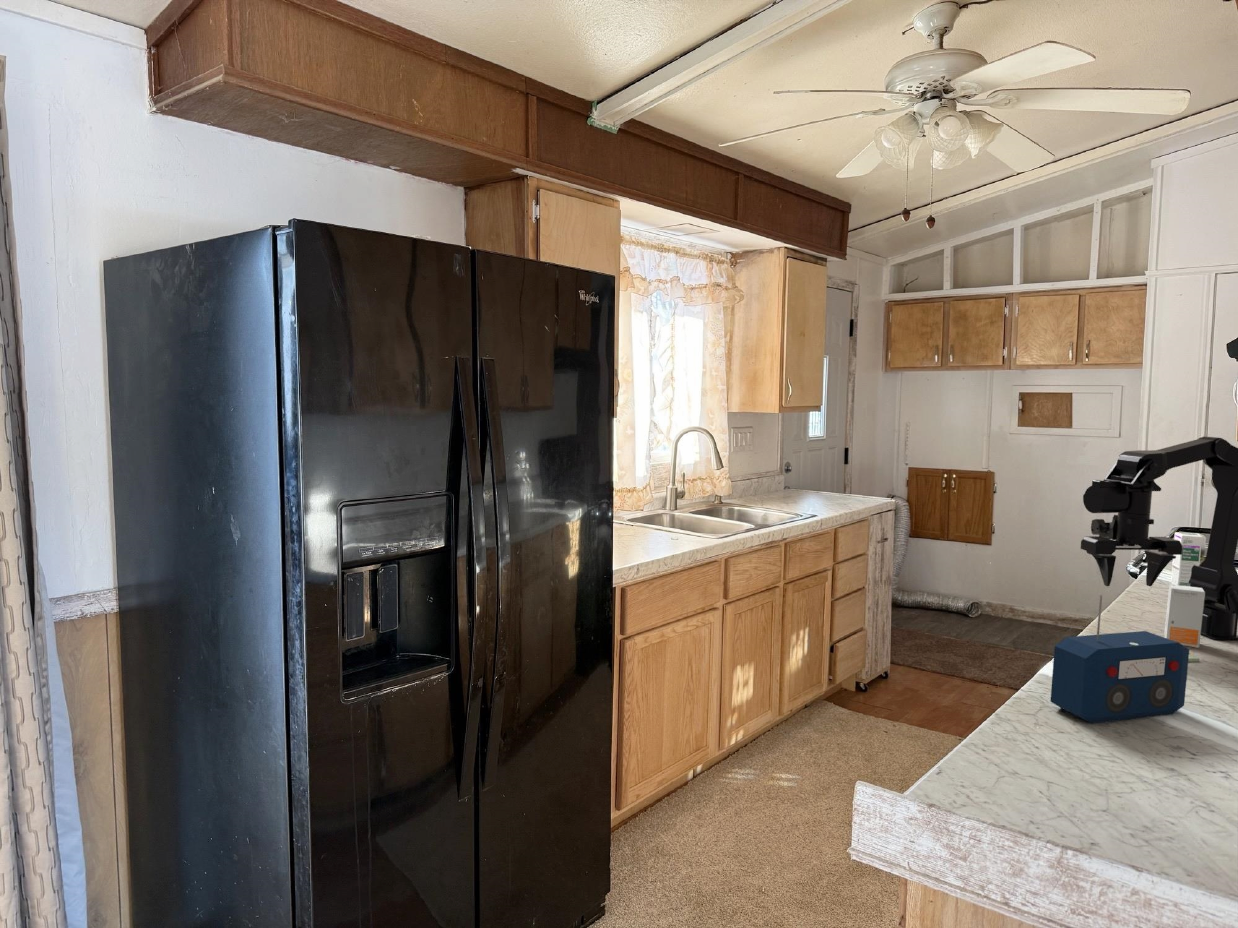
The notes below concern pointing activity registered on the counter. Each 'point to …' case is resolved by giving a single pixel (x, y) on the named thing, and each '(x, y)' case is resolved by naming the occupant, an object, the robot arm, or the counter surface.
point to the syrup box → (1187, 557)
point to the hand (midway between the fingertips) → (1127, 585)
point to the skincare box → (1184, 615)
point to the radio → (1119, 675)
